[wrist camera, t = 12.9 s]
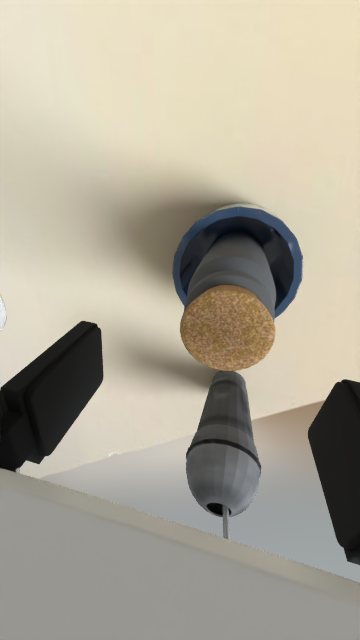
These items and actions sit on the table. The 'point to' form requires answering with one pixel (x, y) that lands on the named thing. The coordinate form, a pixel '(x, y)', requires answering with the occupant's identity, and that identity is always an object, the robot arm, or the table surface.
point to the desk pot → (259, 224)
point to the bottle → (230, 305)
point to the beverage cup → (224, 451)
